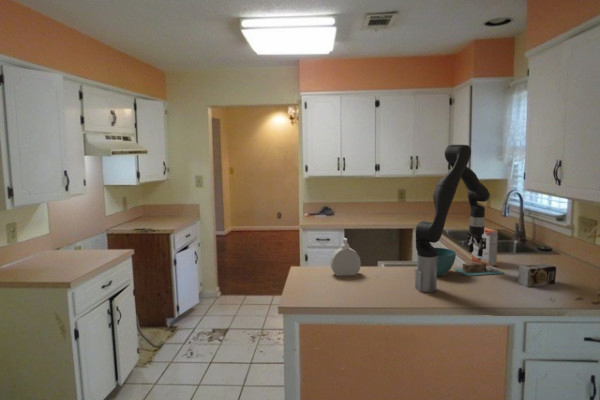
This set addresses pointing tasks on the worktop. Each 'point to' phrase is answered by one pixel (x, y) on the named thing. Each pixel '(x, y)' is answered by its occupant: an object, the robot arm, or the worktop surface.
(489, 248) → the cracker box
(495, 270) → the tall cardboard-brown block
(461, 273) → the mat
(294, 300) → the worktop surface
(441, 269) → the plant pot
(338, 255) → the soap bottle
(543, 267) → the coffee box
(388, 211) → the worktop surface
